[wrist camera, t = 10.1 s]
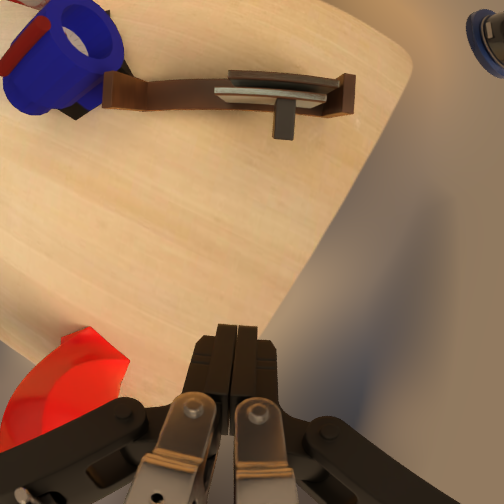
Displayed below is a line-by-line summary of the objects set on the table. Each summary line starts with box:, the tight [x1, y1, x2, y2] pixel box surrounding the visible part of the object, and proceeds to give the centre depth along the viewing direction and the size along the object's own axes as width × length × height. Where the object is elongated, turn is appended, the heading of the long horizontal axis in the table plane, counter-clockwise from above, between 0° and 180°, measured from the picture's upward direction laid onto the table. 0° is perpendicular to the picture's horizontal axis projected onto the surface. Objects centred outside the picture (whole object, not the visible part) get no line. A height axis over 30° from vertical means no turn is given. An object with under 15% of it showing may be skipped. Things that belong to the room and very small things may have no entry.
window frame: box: [102, 70, 356, 118], centre depth 26 cm, size 3×21×10 cm, turn 87°
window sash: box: [214, 86, 326, 140], centre depth 26 cm, size 4×9×8 cm, turn 87°
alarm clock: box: [0, 0, 134, 120], centre depth 21 cm, size 12×12×15 cm
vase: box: [0, 327, 130, 453], centre depth 33 cm, size 15×14×28 cm
